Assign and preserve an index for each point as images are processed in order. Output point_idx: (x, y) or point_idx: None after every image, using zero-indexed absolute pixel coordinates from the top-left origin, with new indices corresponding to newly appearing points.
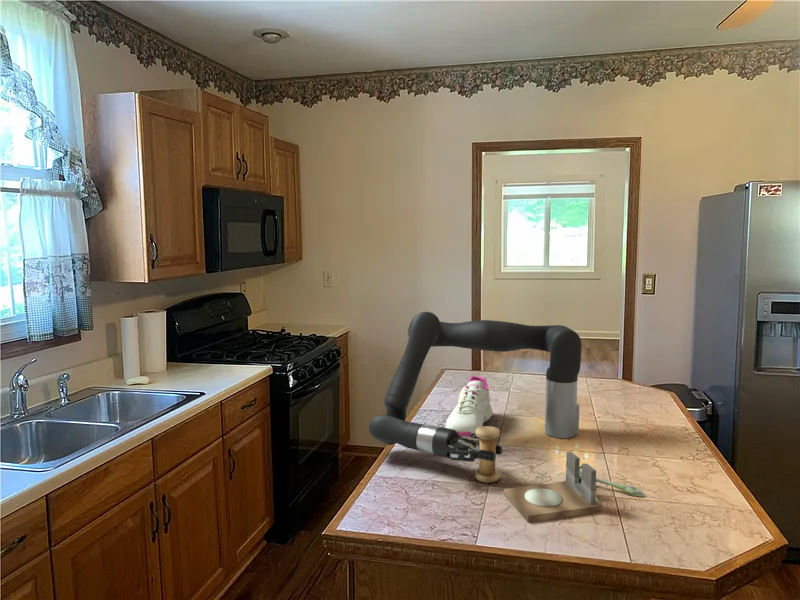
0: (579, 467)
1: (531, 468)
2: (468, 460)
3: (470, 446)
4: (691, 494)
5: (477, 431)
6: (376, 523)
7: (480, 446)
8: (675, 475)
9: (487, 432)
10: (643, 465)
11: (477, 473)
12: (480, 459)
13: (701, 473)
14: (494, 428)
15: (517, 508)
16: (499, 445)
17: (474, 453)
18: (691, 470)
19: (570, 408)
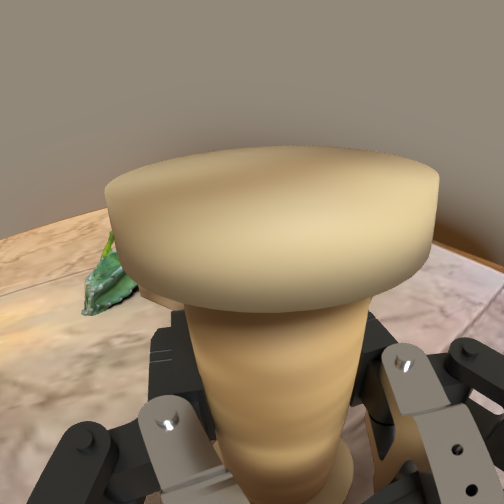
0: (106, 252)
1: (59, 397)
2: (472, 406)
3: (452, 405)
4: (101, 224)
5: (421, 174)
6: None
7: (360, 350)
8: (46, 242)
9: (321, 155)
10: (15, 265)
11: (336, 494)
12: (340, 433)
13: (37, 235)
14: (161, 166)
15: (370, 297)
16: (172, 317)
17: (445, 357)
18: (29, 240)
19: None
